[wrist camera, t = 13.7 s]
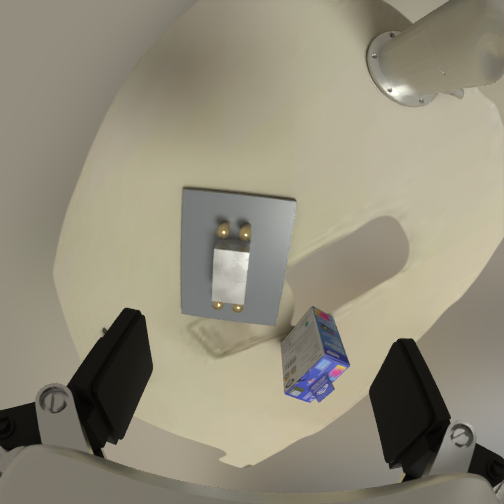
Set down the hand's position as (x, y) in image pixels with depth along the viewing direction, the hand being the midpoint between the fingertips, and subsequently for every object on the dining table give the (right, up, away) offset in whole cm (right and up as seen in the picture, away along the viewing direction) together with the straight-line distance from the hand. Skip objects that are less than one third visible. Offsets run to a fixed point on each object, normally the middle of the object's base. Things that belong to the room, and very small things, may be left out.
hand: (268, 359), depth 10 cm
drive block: (-3, +2, +33) cm, 33 cm away
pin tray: (-3, +3, +34) cm, 35 cm away
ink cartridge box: (+9, -10, +39) cm, 41 cm away
